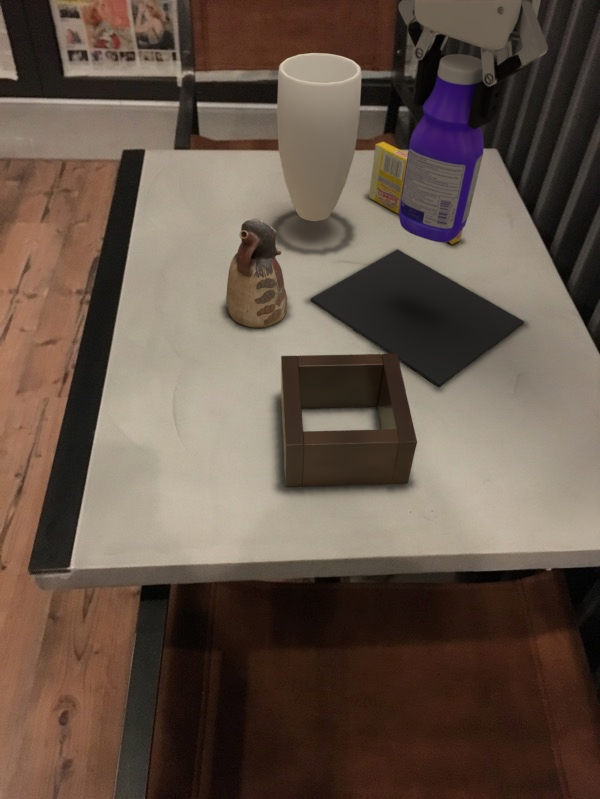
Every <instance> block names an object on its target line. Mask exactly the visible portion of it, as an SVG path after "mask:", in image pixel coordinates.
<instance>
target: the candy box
mask: <svg viewBox="0 0 600 799" xmlns="http://www.w3.org/2000/svg"><path fill="white" fill-rule="evenodd" d="M407 157H408V152H405V151H403V150H401V149H399V148H398V147H396V146H393V145H392V144H390V143H387V142H385V141H381V142H378V143H375V145H374V154H373V162H372V169H371V178H370V186H369V192H368V198H369V199H371V200H372V201H374V202H376V203H378V204H379V205H381V206H383V207H384V208H386V209H389V210H390V211H392V212H394V213H396V214H397V215H399V209H400V202H401V196H402V189H403V183H404V176H405V170H406V163H407ZM463 230H464V228H463V229H462V230H461V231H460V233H459V234H458V235H457V236H456V237H455V238H454V239H452V240H450V241H448V242H447V243H449V244H450V245H454V244H456V243H458V242H460V241H461V239H462V234H463Z"/></svg>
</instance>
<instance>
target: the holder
mask: <svg viewBox="0 0 600 799" xmlns="http://www.w3.org/2000/svg"><path fill="white" fill-rule="evenodd" d="M280 405H281V407H280V408H281V426H282V449H283V469H284V470H283V471H284V486H285V487H319V486H351V485H352V486H353V485H384V484H386V485H387V484H388V485H389V484H408V483H409V480H410V475H411V470H412V467H413V462H414V458H415V453H416V449H417V446H418V439H417V436H416V431H415V430H416V429H415V426H414V422H413V417H412V413H411V408H410V404H409V400H408V396H407V391H406V386H405V382H404V378H403V373H402V368H401V365H400V361H399V359H398V355H397V354H389V353H363V354H361V353H360V354H358V353H357V354H313V355H311V354H310V355H309V354H308V355H307V354H306V355H304V354H303V355H281V357H280ZM354 407H355V408H358V407H359V408H361V407H377V412H378V417H379V424H380V428H381V429H348V430H347V429H346V430H345V429H344V430H341V429H340V430H309V431H307V430H305V431H304V426H303V410H302V409H313V408H314V409H319V408H323V409H324V408H354Z"/></svg>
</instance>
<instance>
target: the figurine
mask: <svg viewBox="0 0 600 799" xmlns="http://www.w3.org/2000/svg"><path fill="white" fill-rule="evenodd" d="M277 232H278V231H276V230H275V228H273V227H272V226H271V225H270V224H267V223H265V221H263V220H262V219H258V218H252V219H249V220H245V221H244V222H243V223H242V224H241V228H240V232H239V238H240V240H241V242H240V244H239V246H238V249H237V252H236V253H235V254H234V256H233V257H232V259H231V262H230V265H229V268H228V276H227V284H226V295H225V298H226V306H227V311H228V314H229V316H230V318H232V319H233V321H234V322H236V323H237V324H240V325H242V326H245V327H248V328H249V327H250V328H267V327H271V326H272V325H275V324H277V323H279V322H280V321H282V320H283V319H284V318H285V316H286V314H287V304H288V295H287V291H286V288H285V280H284V273H283V270H282V267H281V265H280V263H279V261H278V260H277V256H281V255H282V250H281V249H279V248H277V245H276V244H277V241H276V240H277V239H276V238H277V234H278V233H277Z"/></svg>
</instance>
